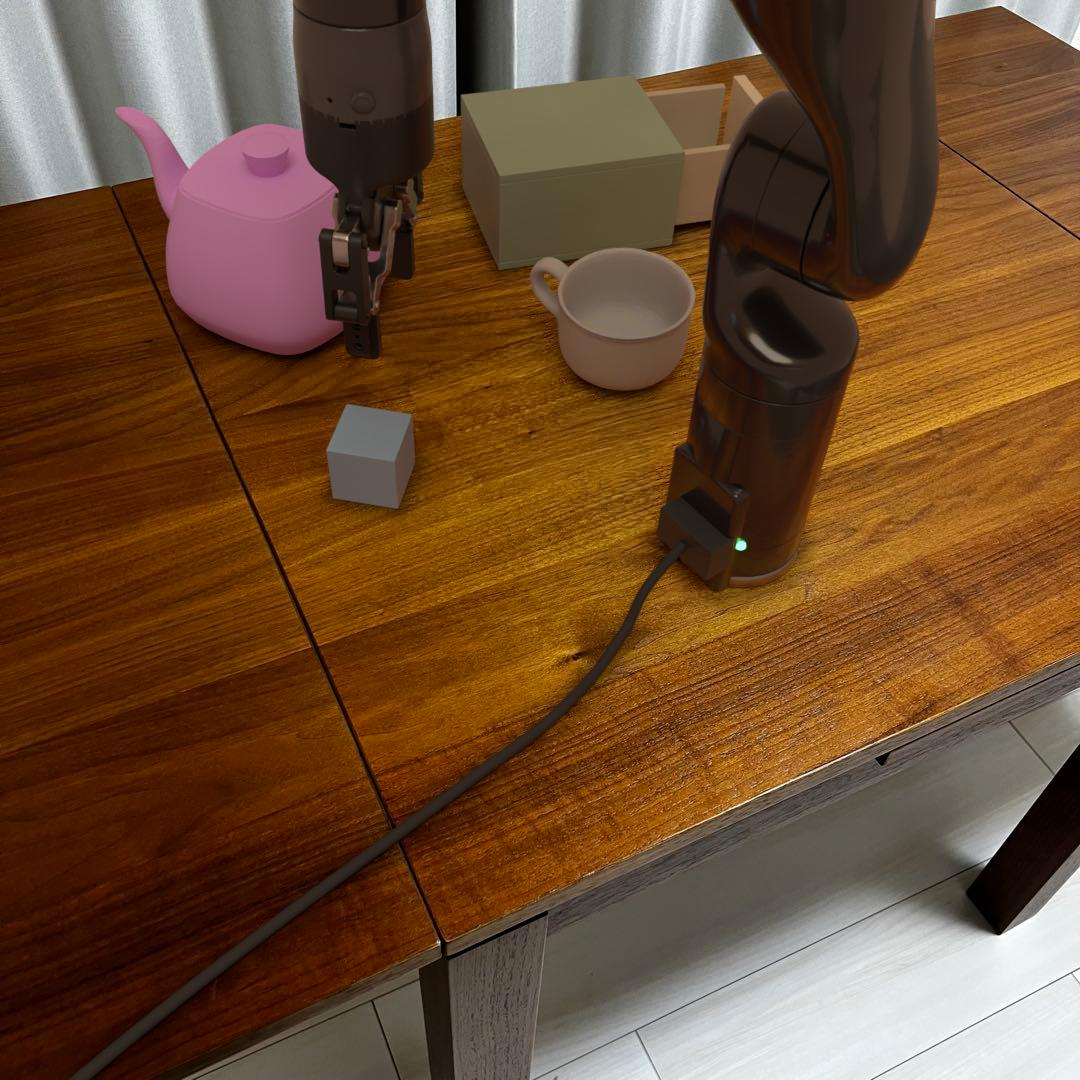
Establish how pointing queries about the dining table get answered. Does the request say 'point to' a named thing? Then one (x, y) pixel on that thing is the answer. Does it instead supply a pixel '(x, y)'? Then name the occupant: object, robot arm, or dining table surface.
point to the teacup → (618, 315)
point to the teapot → (245, 235)
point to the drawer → (703, 138)
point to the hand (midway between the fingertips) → (381, 314)
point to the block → (371, 456)
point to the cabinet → (569, 170)
